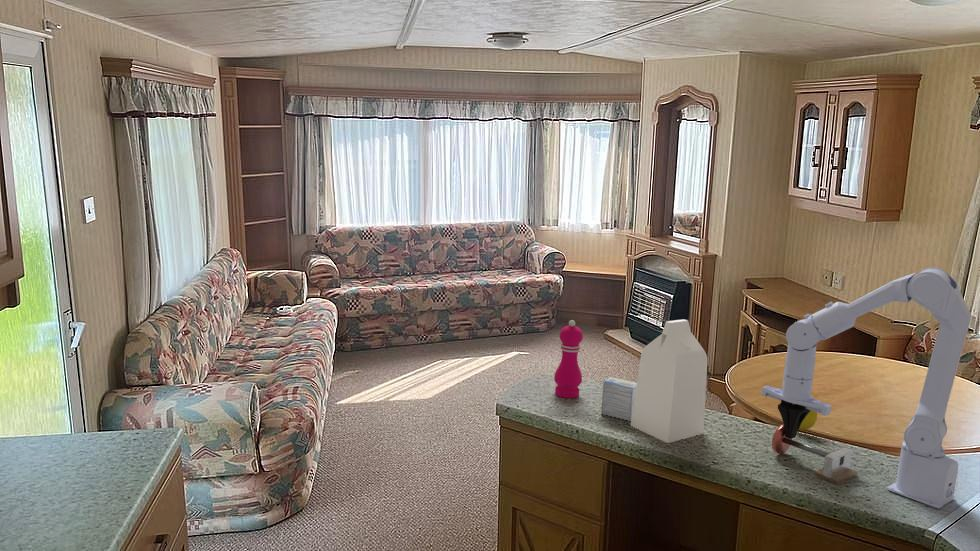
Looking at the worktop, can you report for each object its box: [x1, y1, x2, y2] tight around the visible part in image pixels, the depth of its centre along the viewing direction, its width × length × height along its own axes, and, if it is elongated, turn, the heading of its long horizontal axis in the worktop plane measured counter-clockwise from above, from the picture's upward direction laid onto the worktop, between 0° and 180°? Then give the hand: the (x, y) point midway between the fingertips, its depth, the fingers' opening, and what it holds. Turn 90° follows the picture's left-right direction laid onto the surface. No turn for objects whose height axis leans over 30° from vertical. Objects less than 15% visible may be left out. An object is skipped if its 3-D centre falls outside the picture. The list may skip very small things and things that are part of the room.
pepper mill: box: [553, 319, 584, 399], centre depth 189 cm, size 7×7×20 cm
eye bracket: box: [813, 446, 859, 486], centre depth 148 cm, size 5×8×5 cm, turn 128°
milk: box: [630, 319, 708, 444], centre depth 167 cm, size 12×12×26 cm
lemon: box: [798, 410, 818, 432], centre depth 172 cm, size 6×6×8 cm
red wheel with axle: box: [771, 424, 841, 461], centre depth 153 cm, size 14×6×6 cm, turn 38°
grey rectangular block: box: [600, 376, 637, 422], centre depth 176 cm, size 8×4×9 cm, turn 58°
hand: (790, 437), depth 156 cm, fingers closed
